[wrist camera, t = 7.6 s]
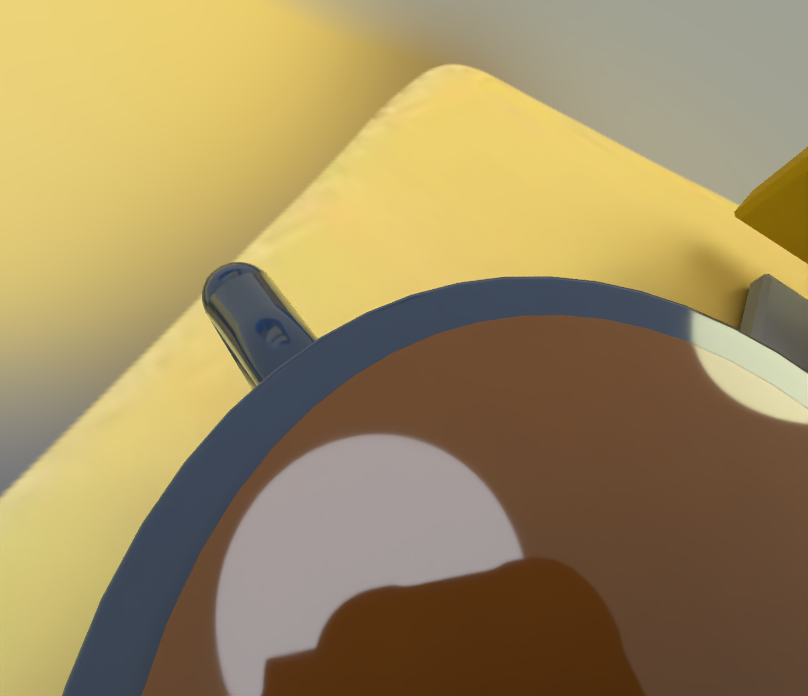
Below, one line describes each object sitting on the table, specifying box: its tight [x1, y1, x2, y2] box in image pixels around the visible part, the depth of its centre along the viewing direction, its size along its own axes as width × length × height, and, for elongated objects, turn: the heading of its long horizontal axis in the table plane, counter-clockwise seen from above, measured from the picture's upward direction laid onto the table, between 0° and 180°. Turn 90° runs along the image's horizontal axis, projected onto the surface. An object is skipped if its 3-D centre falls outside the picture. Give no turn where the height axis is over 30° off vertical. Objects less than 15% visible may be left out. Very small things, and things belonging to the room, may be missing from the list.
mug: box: [62, 262, 808, 696], centre depth 9 cm, size 10×7×12 cm
